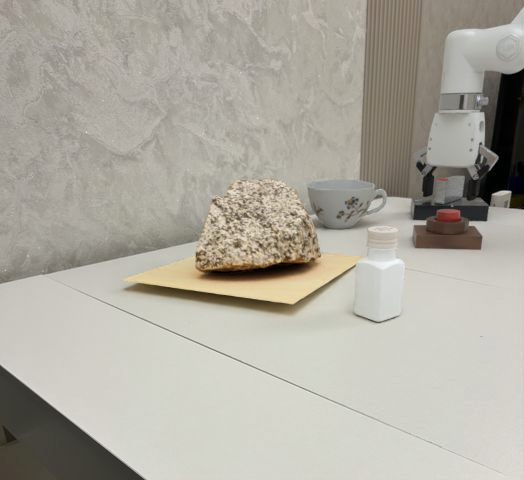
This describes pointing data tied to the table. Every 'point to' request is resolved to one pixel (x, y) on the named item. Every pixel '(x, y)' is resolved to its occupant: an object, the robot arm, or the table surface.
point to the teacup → (343, 201)
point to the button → (448, 215)
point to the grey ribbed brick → (449, 189)
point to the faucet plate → (468, 209)
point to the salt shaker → (379, 276)
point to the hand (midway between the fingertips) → (448, 197)
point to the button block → (447, 235)
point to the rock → (255, 248)
